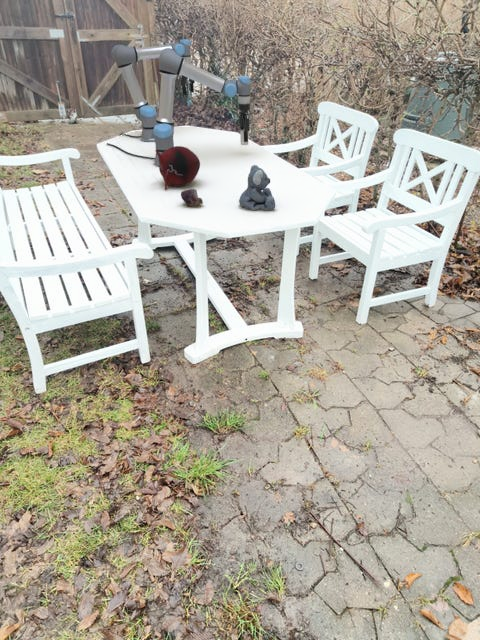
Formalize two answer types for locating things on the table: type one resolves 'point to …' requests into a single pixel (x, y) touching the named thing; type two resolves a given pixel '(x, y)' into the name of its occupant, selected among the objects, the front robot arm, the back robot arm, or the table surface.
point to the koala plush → (257, 191)
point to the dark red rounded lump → (178, 166)
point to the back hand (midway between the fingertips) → (188, 93)
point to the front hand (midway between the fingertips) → (244, 140)
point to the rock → (191, 197)
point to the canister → (243, 138)
